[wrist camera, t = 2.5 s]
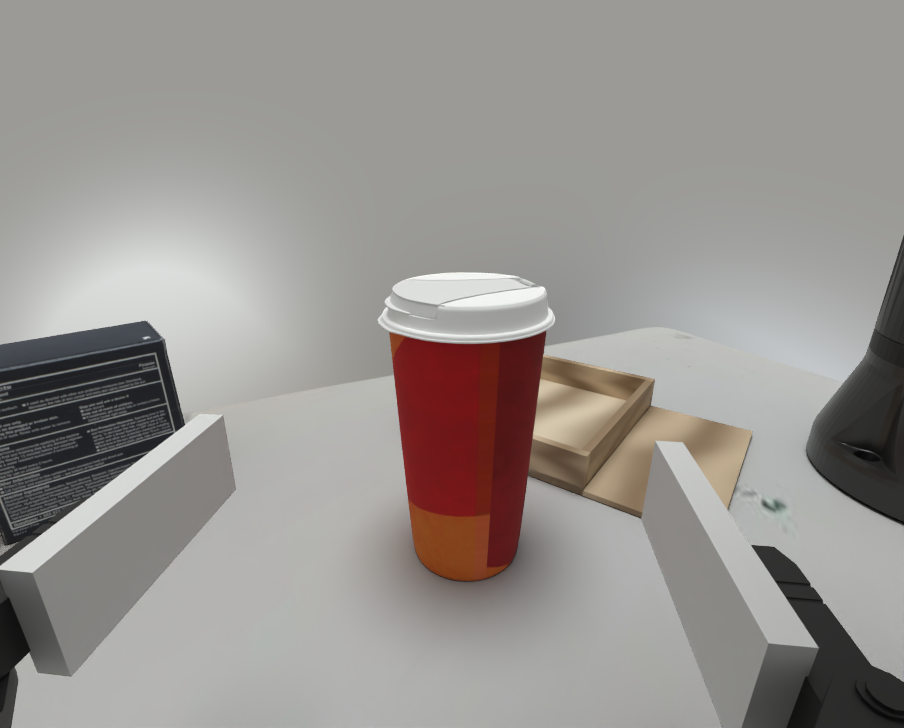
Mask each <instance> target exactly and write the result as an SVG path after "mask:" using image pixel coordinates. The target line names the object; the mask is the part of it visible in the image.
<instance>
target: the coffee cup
mask: <svg viewBox="0 0 904 728" xmlns="http://www.w3.org/2000/svg"><path fill="white" fill-rule="evenodd" d="M385 305H386V308H385V310H384V311H383V313H382V315H381V316H380V317H379V319H378V323H379V325H380V326H381V327H382V328H383V329H385V330H387V331H389V333H390V342H391V351H392V360H393V369H394V378H395V387H396V396H397V405H398V414H399V423H400V432H401V441H402V450H403V459H404V468H405V476H406V485H407V494H408V502H409V510H410V519H411V526H412V533H413V540H414V545H415V549H416V553H417V555H418V557H419V559H420V561H421V562H422V563H423V564H424V565H425V566H426V567H427V568H428V569H429V570H430V571H432V572H434V573H435V574H437V575H439V576H442V577H444V578H447V579H451V580H457V581H477V580H482V579H486V578H489V577H492V576H494V575H496V574H498V573H500V572H501V571H503V570H504V569H505V568H506V567H508V566H509V564H510V563H511V562H512V560H513V559H514V556H515V554H516V550H517V546H518V541H519V535H520V529H521V522H522V515H523V508H524V500H525V493H526V486H527V478H528V470H529V463H530V455H531V448H532V440H533V432H534V424H535V416H536V408H537V400H538V393H539V385H540V377H541V369H542V361H543V353H544V345H545V338H546V330H548V329H549V328H551V327H552V326H553V324H554V322H555V316H554V315H553V312H552V310H551V309H550V308H549V307H548V301H547V292H546V290H545V288H544V287H540V286H539V285H537V284H534V283H532V282H530V281H527V280H525V279H521V277H517V276H511V275H503V274H493V273H441V274H431V275H424V276H418V277H413V278H409V279H406V280H403V281H401V282H399V283H397V284H396V285H395V286H394V287H393V290H392V294H391V296H389V297H388V298H387V299H386V300H385Z"/></svg>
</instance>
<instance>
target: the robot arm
mask: <svg viewBox="0 0 904 728" xmlns="http://www.w3.org/2000/svg"><path fill="white" fill-rule="evenodd" d="M807 454H808V456H809V458H810V460H811V462H812V463H813V464H814V466H815V467H816V468H817V469H818V470H819V471H820V472H821V473H822V474H823V475H824V476H825V477H826V478H827V479H829V480H830V481H831V482H832V483H834V484H835V485H836V486H838V487H839V488H841V489H842V490H844V491H845V492H847V493H848V494H850V495H852V496H853V497H855V498H857V499H858V500H860V501H862V502H864V503H865V504H867V505H869V506H871V507H873V508H875V509H877V510H879V511H881V512H883V513H885V514H887V515H889V516H892V517H894V518H896V519H898V520H901V521H903V522H904V237H903V240H902V243H901V246H900V249H899V252H898V256H897V259H896V262H895V265H894V268H893V272H892V275H891V278H890V281H889V284H888V287H887V291H886V294H885V297H884V300H883V303H882V306H881V309H880V313H879V316H878V319H877V322H876V325H875V329H874V332H873V335H872V338H871V341H870V344H869V347H868V349H867V352H866V355H865V356H864V358H863V360H862V361H861V362H860V364H859V365H858V366H857V367H856V369H855V370H854V371H853V372H852V373H851V375H850V376H849V377H848V379H847V380H846V381H845V382H844V383H843V384H842V386H841V387H840V388H839V389H838V391H837V392H836V393H835V394H834V396H833V397H832V398H831V399H830V400H829V402H828V403H827V404H826V405H825V407H824V408H823V409H822V410H821V412H820V413H819V414H818V415H817V417H816V419H815V421H814V423H813V426H812V429H811V432H810V436H809V439H808V442H807ZM235 490H236V486H235V481H234V475H233V469H232V463H231V458H230V452H229V446H228V441H227V435H226V429H225V423H224V418H223V415H212V414H199V415H198V416H197V417H195V418H194V419H193V420H191V421H190V422H189V423H187V424H186V425H185V426H183V427H182V428H181V429H179V430H178V431H177V432H175V433H174V434H173V435H172V436H170V437H169V438H168V439H166V440H165V441H164V442H162V443H161V444H160V445H158V446H157V447H156V448H154V449H153V450H152V451H150V452H149V453H148V454H147V455H145V456H144V457H143V458H141V459H140V460H139V461H137V462H136V463H135V464H133V465H132V466H131V467H129V468H128V469H127V470H126V471H124V472H123V473H122V474H120V475H119V476H118V477H116V478H115V479H114V480H112V481H111V482H110V483H108V484H107V485H106V486H104V487H103V488H102V489H101V490H99V491H98V492H97V493H95V494H94V495H90V496H88V497H86V498H84V499H82V500H80V501H78V502H76V503H74V504H71V505H69V506H67V507H66V508H64V509H63V510H62V511H60V512H59V513H58V514H56V515H55V516H54V517H52V518H51V519H50V520H48V521H47V524H43V525H42V526H40V527H39V528H37V529H36V530H35V531H33V532H32V535H31V536H27V537H25V538H24V539H23V540H21V541H20V542H19V543H17V544H16V545H15V546H13V547H12V548H11V549H9V550H8V551H6V552H5V553H4V554H2V555H1V556H0V728H11V725H12V718H13V712H14V705H15V699H16V692H17V686H18V676H17V672H16V670H15V666H16V665H17V664H18V663H19V662H20V661H21V660H22V659H23V658H24V657H25V656H26V655H27V654H28V653H29V652H30V655H31V657H32V660H33V662H34V665H35V667H36V670H37V672H38V673H45V674H53V675H62V676H70V677H71V676H72V675H73V674H74V673H75V672H76V671H77V670H78V668H79V667H80V666H81V665H82V664H83V663H84V662H85V661H86V659H87V658H88V657H89V656H90V655H91V654H92V653H93V651H94V650H95V649H96V648H97V647H98V646H99V645H100V643H101V642H102V641H103V640H104V639H105V638H106V637H107V635H108V634H109V633H110V632H111V631H112V630H113V629H114V628H115V626H116V625H117V624H118V623H119V622H120V621H121V620H122V618H123V617H124V616H125V615H126V614H127V613H128V612H129V610H130V609H131V608H132V607H133V606H134V605H135V604H136V602H137V601H138V600H139V599H140V598H141V597H142V596H143V595H144V593H145V592H146V591H147V590H148V589H149V588H150V587H151V585H152V584H153V583H154V582H155V581H156V580H157V579H158V577H159V576H160V575H161V574H162V573H163V572H164V571H165V569H166V568H167V567H168V566H169V565H170V564H171V563H172V562H173V560H174V559H175V558H176V557H177V556H178V555H179V554H180V552H181V551H182V550H183V549H184V548H185V547H186V546H187V544H188V543H189V542H190V541H191V540H192V539H193V538H194V537H195V535H196V534H197V533H198V532H199V531H200V530H201V529H202V527H203V526H204V525H205V524H206V523H207V522H208V521H209V519H210V518H211V517H212V516H213V515H214V514H215V513H216V511H217V510H218V509H219V508H220V507H221V506H222V505H223V504H224V502H225V501H226V500H227V499H228V498H229V497H230V496H231V494H232V493H233V492H234V491H235ZM641 520H642V522H643V525H644V528H645V530H646V533H647V535H648V538H649V540H650V543H651V546H652V548H653V551H654V553H655V556H656V558H657V561H658V563H659V566H660V569H661V571H662V574H663V576H664V579H665V581H666V584H667V587H668V589H669V592H670V594H671V597H672V599H673V602H674V605H675V607H676V610H677V612H678V615H679V617H680V620H681V623H682V625H683V628H684V630H685V633H686V635H687V638H688V640H689V643H690V646H691V648H692V651H693V653H694V656H695V658H696V661H697V664H698V666H699V669H700V671H701V674H702V676H703V679H704V682H705V684H706V687H707V689H708V692H709V694H710V697H711V699H712V702H713V705H714V707H715V710H716V712H717V715H718V717H719V720H720V723H721V725H722V728H904V682H902V681H901V680H899V679H898V678H896V677H895V676H893V675H892V674H890V673H887V672H885V671H883V670H880V669H878V668H876V667H873V666H871V664H870V663H869V661H868V660H867V659H866V657H865V656H864V655H863V653H862V652H861V651H860V649H859V648H858V647H857V645H856V644H855V643H854V641H853V640H852V639H851V637H850V636H849V635H848V633H847V632H846V631H845V629H844V628H843V627H842V625H841V624H840V623H839V621H838V620H837V619H836V617H835V616H834V615H833V613H832V612H831V611H830V609H829V608H828V607H827V605H826V604H823V600H822V598H821V597H820V596H819V594H818V593H817V592H816V590H815V589H814V588H812V587H811V586H810V582H809V581H808V580H807V578H806V577H805V576H804V574H803V573H802V572H801V570H800V569H799V568H798V566H797V565H796V564H795V563H794V562H792V561H791V560H790V559H789V558H787V557H786V556H785V555H784V554H782V553H781V552H780V551H779V550H777V549H776V548H775V547H769V546H756V545H750V543H749V542H748V540H747V539H746V537H745V536H744V534H743V532H742V531H741V529H740V528H739V526H738V525H737V523H736V522H735V520H734V519H733V517H732V516H731V514H730V513H729V511H728V510H727V508H726V507H725V505H724V504H723V502H722V501H721V499H720V498H719V496H718V495H717V493H716V492H715V490H714V489H713V487H712V486H711V484H710V483H709V481H708V480H707V478H706V477H705V475H704V474H703V472H702V471H701V469H700V467H699V466H698V464H697V463H696V461H695V460H694V458H693V457H692V455H691V454H690V452H689V451H688V449H687V448H686V446H685V445H684V443H683V442H670V441H655V444H654V450H653V456H652V461H651V467H650V473H649V478H648V484H647V490H646V496H645V501H644V507H643V513H642V518H641Z"/></svg>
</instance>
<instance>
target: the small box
mask: <svg viewBox="0 0 904 728" xmlns="http://www.w3.org/2000/svg"><path fill="white" fill-rule="evenodd" d="M183 426H185V423H184V419H183V415H182V412H181V408H180V403H179V400H178V395H177V392H176V387H175V384H174V379H173V375H172V371H171V367H170V363H169V359H168V355H167V350H166V344H165V339H164V338H163V337H162V336H160V335H159V333H158V332H157V331H156V330H155V329H154V328H153V327H152V326H151V325H150V323H148V321H141V322H135V323H129V324H124V325H118V326H112V327H105V328H100V329H94V330H87V331H81V332H75V333H69V334H63V335H57V336H51V337H45V338H39V339H33V340H26V341H21V342H14V343H9V344H2V345H0V530H1V536H2V538H3V541H4V543H5V544H11V543H14V542H17V541H20V540H23V539H24V538H25V537H27V536H31V535H32V532H33V531H35V530H36V529H37V528H39V527H40V526H42V525H43V524H47V521H48V520H50V519H51V518H52V517H54V516H55V515H56V514H58V513H59V512H60V511H62V510H63V509H64V508H66V507H67V506H69V505H71V504H74V503H76V502H78V501H80V500H82V499H84V498H86V497H88V496H90V495H94V494H95V493H97V492H98V491H99V490H101V489H102V488H103V487H104V486H106V485H107V484H108V483H110V482H111V481H112V480H114V479H115V478H116V477H118V476H119V475H120V474H122V473H123V472H124V471H126V470H127V469H128V468H129V467H131V466H132V465H133V464H135V463H136V462H137V461H139V460H140V459H141V458H143V457H144V456H145V455H147V454H148V453H149V452H150V451H152V450H153V449H154V448H156V447H157V446H158V445H160V444H161V443H162V442H164V441H165V440H166V439H168V438H169V437H170V436H172V435H173V434H174V433H175V432H177V431H178V430H179V429H181V428H182V427H183Z"/></svg>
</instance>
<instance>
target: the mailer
mask: <svg viewBox="0 0 904 728" xmlns="http://www.w3.org/2000/svg"><path fill="white" fill-rule="evenodd" d="M654 382H655V379H652V378H647V377H643V376H638V375H634V374H629V373H625V372H620V371H616V370H611V369H606V368H602V367H597V366H593V365H588V364H584V363H579V362H575V361H570V360H566V359H561V358H557V357H552V356H547V355H543V361H542V369H541V377H540V385H539V393H538V400H537V408H536V416H535V424H534V432H533V440H532V448H531V455H530V463H529V470H528V475H529V476H532V477H534V478H537V479H540V480H542V481H545V482H547V483H550V484H553V485H555V486H558V487H561V488H563V489H566V490H569V491H571V492H574V493H577V494H579V495H582V496H585V497H587V498H590V499H593V500H595V501H598V502H601V503H603V504H606V505H609V506H611V507H614V508H617V509H619V510H622V511H625V512H627V513H630V514H633V515H635V516H638V517H640V518H642V513H643V507H644V501H645V496H646V490H647V484H648V478H649V473H650V467H651V461H652V456H653V450H654V444H655V441H670V442H683V443H684V445H685V446H686V448H687V449H688V451H689V452H690V454H691V455H692V457H693V458H694V460H695V461H696V463H697V464H698V466H699V467H700V469H701V471H702V472H703V474H704V475H705V477H706V478H707V480H708V481H709V483H710V484H711V486H712V487H713V489H714V490H715V492H716V493H717V495H718V496H719V498H720V499H721V501H722V502H723V504H724V505H725V507H726V508H727V510H728V507H729V504H730V501H731V497H732V494H733V491H734V488H735V485H736V482H737V479H738V476H739V473H740V470H741V467H742V464H743V461H744V457H745V454H746V451H747V448H748V445H749V442H750V439H751V436H752V432H753V431H749V430H745V429H741V428H737V427H733V426H729V425H725V424H721V423H717V422H713V421H709V420H705V419H701V418H697V417H693V416H689V415H685V414H681V413H677V412H673V411H669V410H665V409H661V408H657V407H653V406H651V401H652V394H653V388H654Z"/></svg>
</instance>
